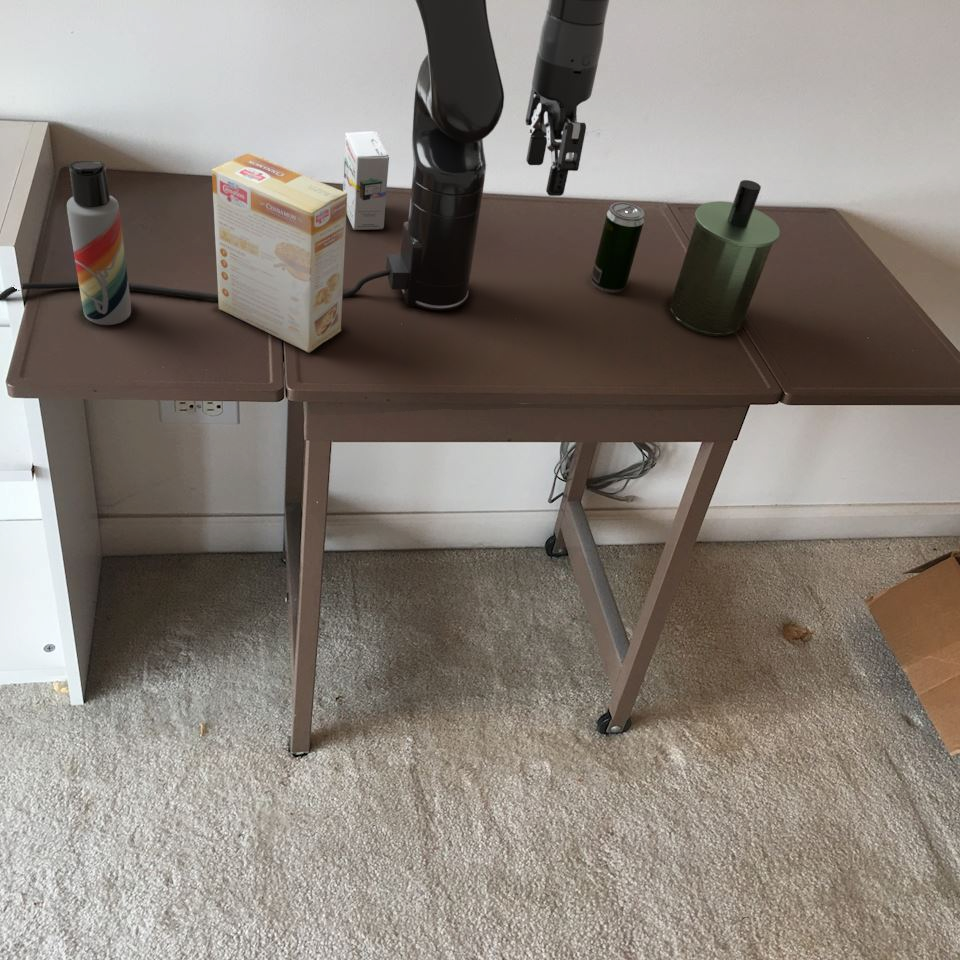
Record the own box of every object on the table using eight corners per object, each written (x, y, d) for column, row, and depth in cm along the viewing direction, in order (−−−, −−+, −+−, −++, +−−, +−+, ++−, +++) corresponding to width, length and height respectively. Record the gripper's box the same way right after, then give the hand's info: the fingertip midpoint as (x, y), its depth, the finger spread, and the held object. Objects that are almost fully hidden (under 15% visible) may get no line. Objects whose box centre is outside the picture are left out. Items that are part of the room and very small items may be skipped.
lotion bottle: (83, 327, 120) (58, 174, 107) (84, 301, 124) (60, 151, 111) (132, 325, 122) (113, 175, 108) (131, 300, 126) (113, 152, 112)
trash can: (701, 342, 137) (733, 251, 127) (655, 302, 143) (682, 212, 134) (755, 328, 142) (790, 239, 132) (708, 290, 148) (738, 202, 138)
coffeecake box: (342, 330, 127) (350, 192, 114) (308, 355, 122) (312, 213, 109) (253, 287, 132) (249, 149, 119) (216, 309, 127) (209, 168, 114)
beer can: (605, 297, 142) (624, 222, 134) (583, 278, 146) (600, 204, 137) (632, 290, 145) (653, 216, 137) (610, 271, 148) (629, 199, 140)
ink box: (340, 203, 152) (344, 129, 144) (371, 202, 154) (376, 130, 146) (352, 230, 146) (356, 156, 138) (384, 229, 148) (390, 155, 140)
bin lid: (731, 257, 127) (748, 211, 123) (676, 215, 134) (689, 170, 130) (794, 244, 133) (812, 199, 128) (737, 204, 139) (752, 160, 135)
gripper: (521, 31, 122) (501, 154, 133) (558, 76, 112) (534, 205, 123) (577, 33, 124) (553, 155, 135) (618, 78, 115) (588, 205, 125)
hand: (544, 179), depth 129 cm, fingers open, 8 cm apart
